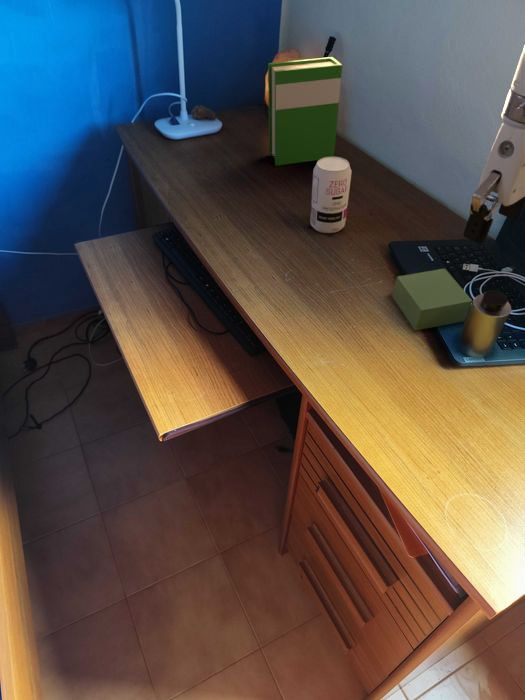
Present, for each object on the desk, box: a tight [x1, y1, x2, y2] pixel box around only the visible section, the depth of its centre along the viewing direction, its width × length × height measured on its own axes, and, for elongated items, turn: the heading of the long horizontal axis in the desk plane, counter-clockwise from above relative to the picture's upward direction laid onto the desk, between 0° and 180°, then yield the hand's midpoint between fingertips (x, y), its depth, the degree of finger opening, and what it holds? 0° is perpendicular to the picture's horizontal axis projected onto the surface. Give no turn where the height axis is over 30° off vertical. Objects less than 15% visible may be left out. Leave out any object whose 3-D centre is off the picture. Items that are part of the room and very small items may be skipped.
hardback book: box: [267, 56, 343, 167], centre depth 128 cm, size 18×7×24 cm, turn 105°
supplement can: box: [309, 156, 353, 234], centre depth 105 cm, size 8×8×15 cm
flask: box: [456, 289, 512, 359], centre depth 78 cm, size 6×6×11 cm
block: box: [392, 268, 473, 331], centre depth 87 cm, size 10×10×5 cm
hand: (491, 227), depth 70 cm, fingers open, 9 cm apart
